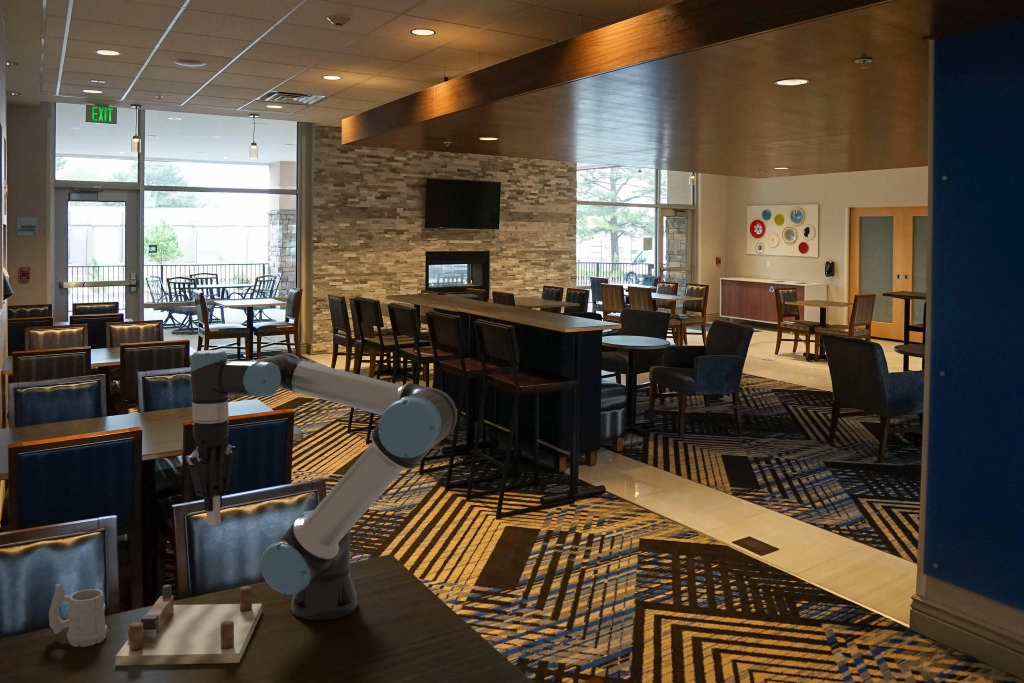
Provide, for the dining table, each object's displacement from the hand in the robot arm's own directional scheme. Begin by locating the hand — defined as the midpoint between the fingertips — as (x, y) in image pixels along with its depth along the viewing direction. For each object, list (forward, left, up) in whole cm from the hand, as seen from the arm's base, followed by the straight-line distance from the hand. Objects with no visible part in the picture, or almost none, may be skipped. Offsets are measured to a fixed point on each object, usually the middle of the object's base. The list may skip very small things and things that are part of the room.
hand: (213, 523), depth 183 cm
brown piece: (+10, +6, -20) cm, 23 cm away
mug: (+26, +8, -23) cm, 36 cm away
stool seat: (+2, +8, -22) cm, 24 cm away
